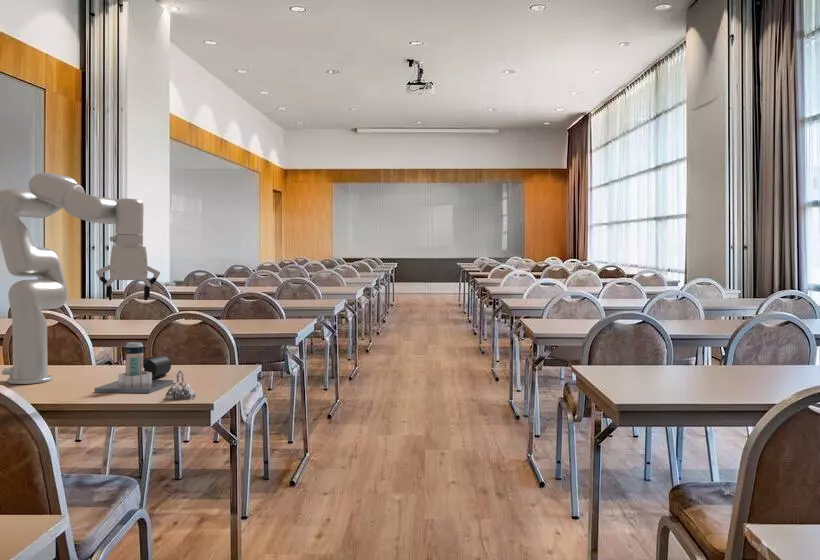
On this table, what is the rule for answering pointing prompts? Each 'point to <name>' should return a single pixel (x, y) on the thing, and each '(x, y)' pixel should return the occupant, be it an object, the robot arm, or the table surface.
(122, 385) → the grey square plate
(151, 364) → the end cap
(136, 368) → the beer can
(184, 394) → the house of cards
